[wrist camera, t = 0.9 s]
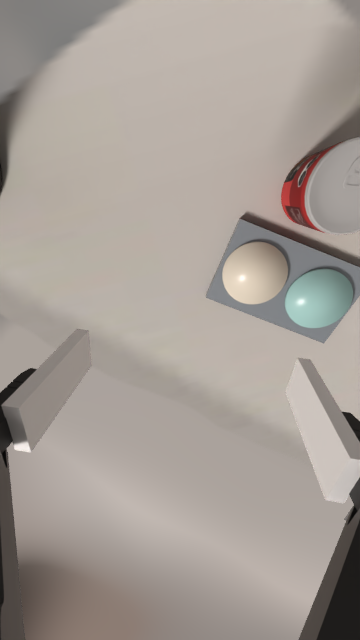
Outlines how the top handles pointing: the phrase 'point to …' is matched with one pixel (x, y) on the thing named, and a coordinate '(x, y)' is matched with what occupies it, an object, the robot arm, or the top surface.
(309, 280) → the pad
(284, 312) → the board
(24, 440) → the robot arm
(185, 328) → the top surface
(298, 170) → the canned food
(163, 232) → the top surface
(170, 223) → the top surface
